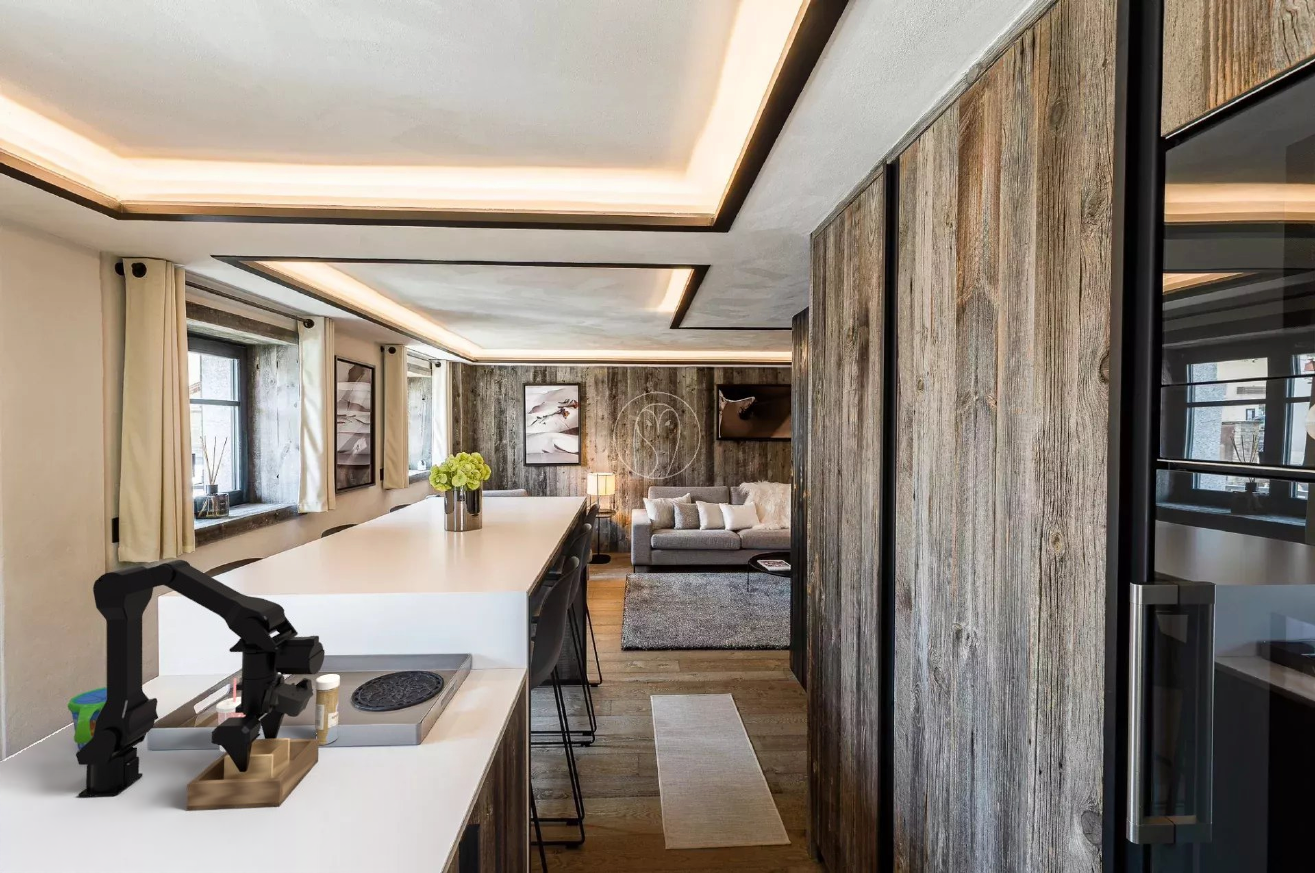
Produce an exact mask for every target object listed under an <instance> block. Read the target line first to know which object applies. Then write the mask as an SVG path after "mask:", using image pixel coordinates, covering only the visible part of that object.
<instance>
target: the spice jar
mask: <svg viewBox="0 0 1315 873" xmlns="http://www.w3.org/2000/svg"><path fill="white" fill-rule="evenodd" d="M340 683H341V677H340V675H339V674H336V673H331V674H325V675H324V674H323V675H321V676H318V677H317V678H316V679H315V687H314V688H315V696H316V698H315V718H314V719H315V722H314V723H315V724H314V727H315V732H316V733H317V734H316V735H317V739H319V746H323V745H324V746H326V745H328V744H327V741H326V736H327V734H328V730H329V729H330V728H331V727H332V726H336V725H338V726H339V707H340V706H339V703H340V702H339V691H340V689H339V688H340Z"/></svg>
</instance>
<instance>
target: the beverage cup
mask: <svg viewBox="0 0 1315 873" xmlns="http://www.w3.org/2000/svg"><path fill="white" fill-rule="evenodd" d="M232 684H233V687H232V690H233V691H232V697H230V698H227V699H224V700H221V701H220V702H218V703H217V704H216V712H217V718H218V719H217V720H218V723H217V724H218V726H219V725H220V724H221V723H223V722H224V721H225V720H227V719H228V718H229V717H244V716H246V715H243V713H235V707H237V706H238V705H239V704H241V696H237V690H236V685H237V677H234V678H233V683H232ZM218 746H219V751H221V752H224V753H225V752H226V751H225V749H224V748H223V747H222V746H221V745H218Z"/></svg>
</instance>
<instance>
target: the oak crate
mask: <svg viewBox="0 0 1315 873" xmlns="http://www.w3.org/2000/svg"><path fill="white" fill-rule="evenodd" d="M290 739H291V738H290V737H283V738H282V737H281V738H279V737H278V738H276V739H265V738H257V739H255V740H254V741H253V743H252V747H251V754H250V760H249V765H248V770H247V771H246V772H240V771H239V770H238V768H237V767H236V765H235V764H234V762H233V761H232V759H231V757H230V756H229V755H227V756H225V759H224V780H232V779H258V778H277V777H278V776H279V775H280V774H281V773H282V772H283V771H284V770H285V769H286V768H287V766H288V765H289V753H290Z"/></svg>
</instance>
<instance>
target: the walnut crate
mask: <svg viewBox="0 0 1315 873" xmlns="http://www.w3.org/2000/svg"><path fill="white" fill-rule="evenodd" d="M319 746H320V745H319V739H315V738H297V739H295V738H293V739H292V738H290V753H289V765H288V766H287V768H286V769H285V770H284V771H283V772H282V773H281V774H280V775H279V776H278V777H277V778H258V779H232V780H224V759H225V756H227V755H228V753H227V752H225V751H224V753H223V754H221V755H220V756H219V757H218V758H217V759H216V760H214V761H213V762H212V763H210V764H209V765H208V766H207V767H206V768H205V769H203V771H201V772H200V773H199V774H198V775H197V776H196V777H194V778H193V779H192V780H191V781H190V782H188V783H187V784H186V785H187V786H186V788H187V789H186V811H189V812H190V811H208V810H209V811H210V810H211V811H212V810H213V811H214V810H230V809H231V810H234V809H255V808H279V807H280V806H282V804H283V803H284V802H285V801H286V799H287V798H288V797H289V796H290V795H291V793H293V791H294V790H295V789H296V788H297V787H298V785H299V784H300V783H301V782H302V781H303V780H304V779H305V777H306V776H307V775H308V774H309V773H310V771H311V770H312V769H313V768H314V767H315V765H316V764H317V763H318V762H319Z"/></svg>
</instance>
